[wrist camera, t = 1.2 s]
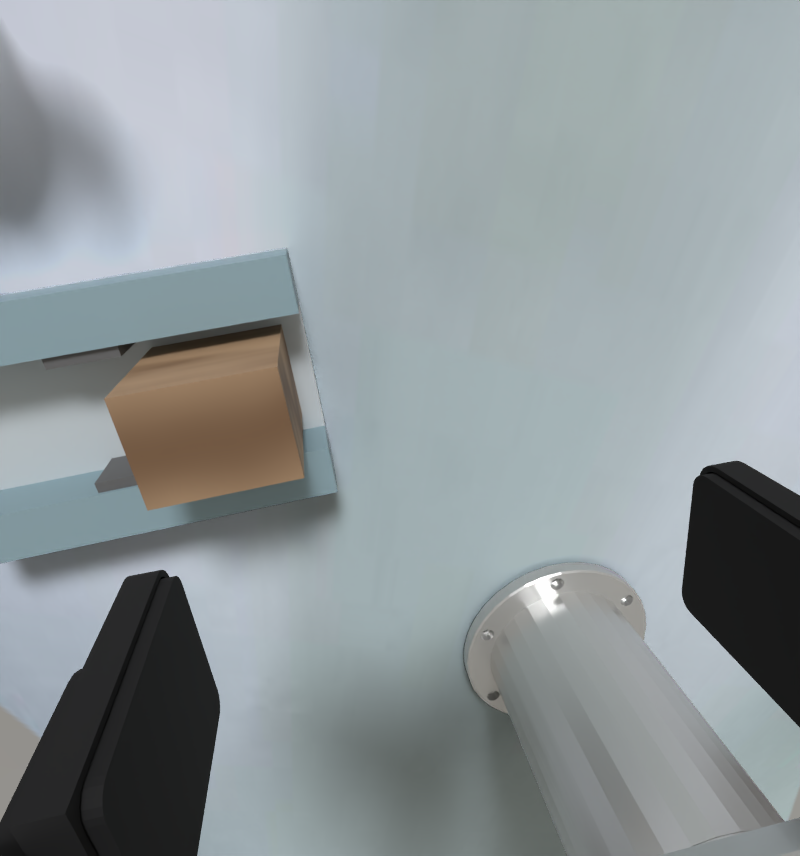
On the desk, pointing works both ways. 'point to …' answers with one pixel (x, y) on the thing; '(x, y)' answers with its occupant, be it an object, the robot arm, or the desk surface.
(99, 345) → the chute
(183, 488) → the walnut block
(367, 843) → the desk surface
